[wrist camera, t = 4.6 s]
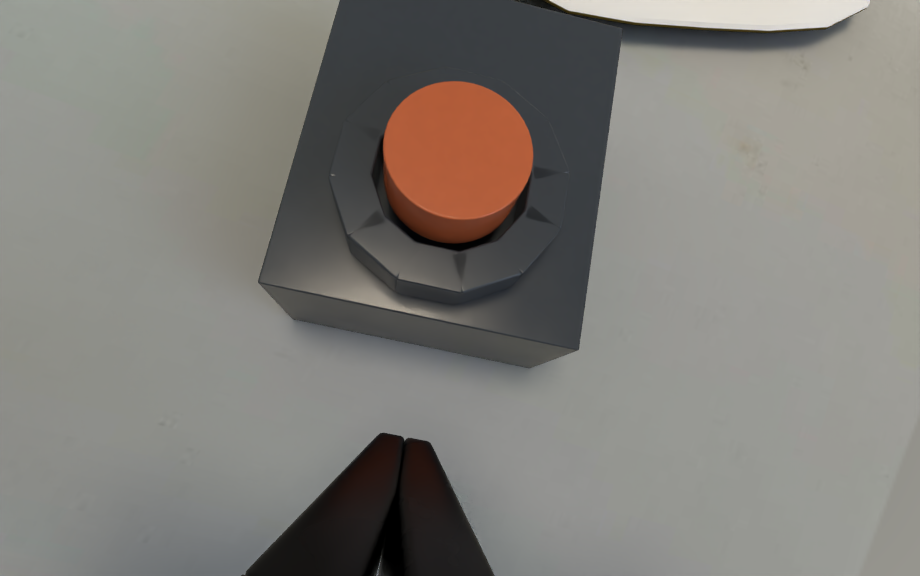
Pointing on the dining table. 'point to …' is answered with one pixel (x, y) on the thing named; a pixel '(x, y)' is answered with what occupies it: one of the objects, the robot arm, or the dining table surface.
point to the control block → (418, 258)
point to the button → (455, 161)
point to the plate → (719, 13)
